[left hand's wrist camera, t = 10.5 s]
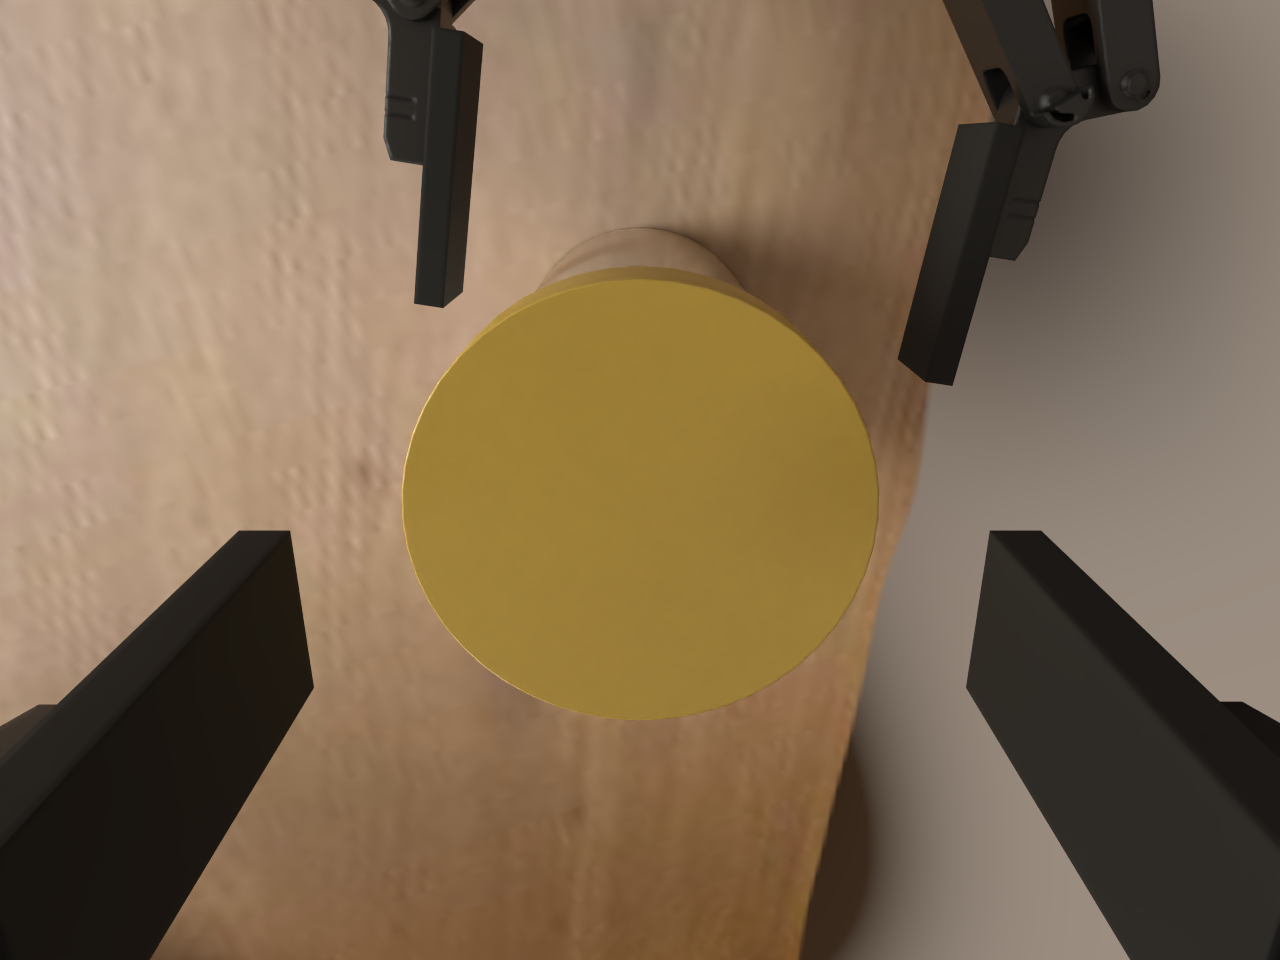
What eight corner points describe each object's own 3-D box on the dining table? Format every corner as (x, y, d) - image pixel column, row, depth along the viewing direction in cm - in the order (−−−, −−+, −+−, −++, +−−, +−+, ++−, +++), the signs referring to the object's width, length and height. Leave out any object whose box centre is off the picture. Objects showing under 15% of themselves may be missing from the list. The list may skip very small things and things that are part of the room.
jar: (519, 228, 30) (410, 301, 16) (759, 227, 30) (868, 299, 16) (531, 454, 33) (447, 691, 19) (750, 454, 33) (834, 690, 19)
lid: (403, 266, 17) (376, 279, 15) (876, 264, 17) (902, 278, 15) (441, 672, 20) (423, 721, 18) (840, 671, 20) (859, 720, 18)
